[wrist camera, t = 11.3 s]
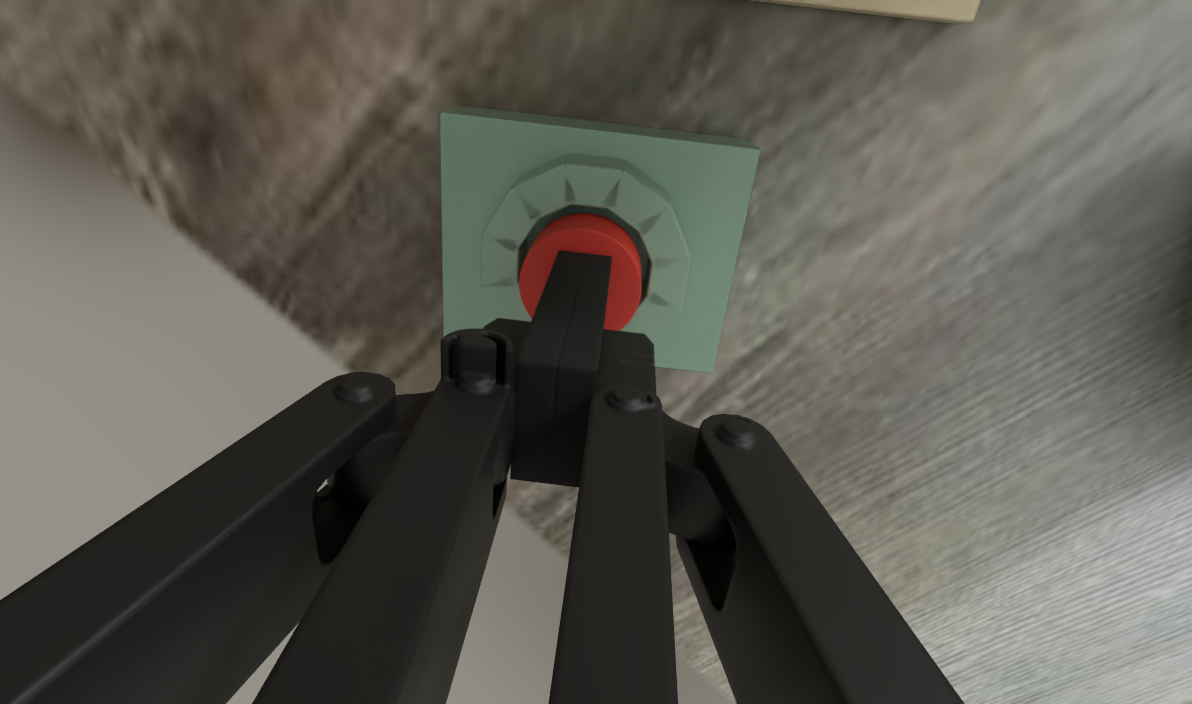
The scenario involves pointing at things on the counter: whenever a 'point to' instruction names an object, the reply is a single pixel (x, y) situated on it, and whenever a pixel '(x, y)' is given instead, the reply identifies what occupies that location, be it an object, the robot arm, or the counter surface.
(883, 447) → the counter surface
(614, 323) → the red button
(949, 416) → the counter surface
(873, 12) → the beige lever stand
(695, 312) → the block
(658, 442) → the robot arm
